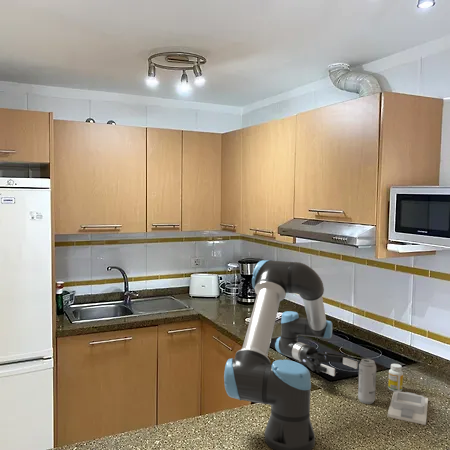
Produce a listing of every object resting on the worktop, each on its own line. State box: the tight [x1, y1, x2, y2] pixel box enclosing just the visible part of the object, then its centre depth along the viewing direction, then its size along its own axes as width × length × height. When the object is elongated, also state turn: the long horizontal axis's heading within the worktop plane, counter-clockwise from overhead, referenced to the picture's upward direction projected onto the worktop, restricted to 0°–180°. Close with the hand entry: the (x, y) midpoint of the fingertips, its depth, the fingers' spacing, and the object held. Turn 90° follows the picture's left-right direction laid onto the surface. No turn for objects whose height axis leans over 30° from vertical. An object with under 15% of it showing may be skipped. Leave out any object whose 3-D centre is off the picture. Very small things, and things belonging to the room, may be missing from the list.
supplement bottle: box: [387, 363, 404, 392], centre depth 175 cm, size 5×5×10 cm
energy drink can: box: [357, 358, 377, 405], centre depth 163 cm, size 6×6×15 cm
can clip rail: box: [387, 391, 429, 426], centre depth 158 cm, size 21×12×4 cm, turn 154°
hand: (346, 368), depth 171 cm, fingers open, 13 cm apart
